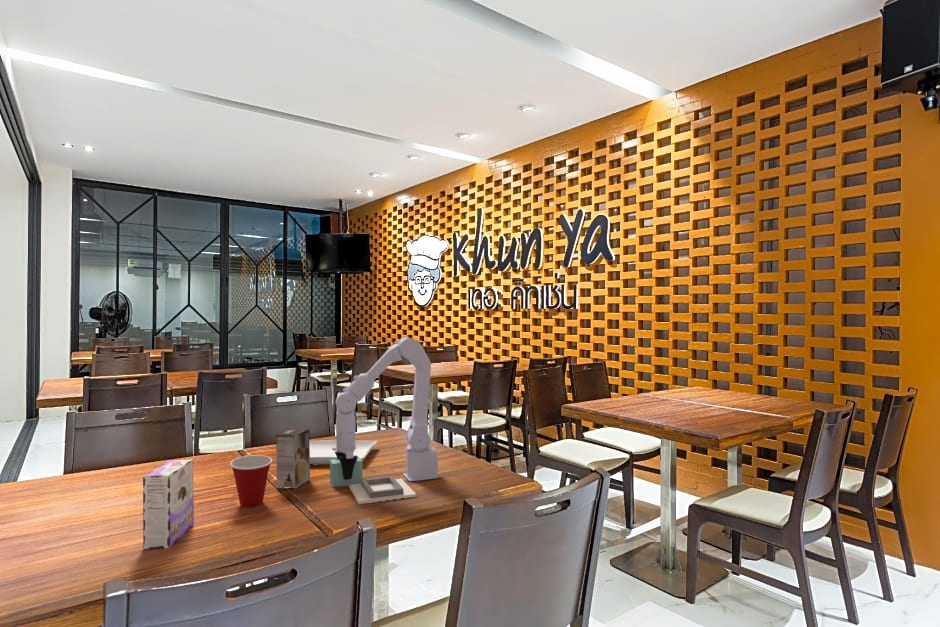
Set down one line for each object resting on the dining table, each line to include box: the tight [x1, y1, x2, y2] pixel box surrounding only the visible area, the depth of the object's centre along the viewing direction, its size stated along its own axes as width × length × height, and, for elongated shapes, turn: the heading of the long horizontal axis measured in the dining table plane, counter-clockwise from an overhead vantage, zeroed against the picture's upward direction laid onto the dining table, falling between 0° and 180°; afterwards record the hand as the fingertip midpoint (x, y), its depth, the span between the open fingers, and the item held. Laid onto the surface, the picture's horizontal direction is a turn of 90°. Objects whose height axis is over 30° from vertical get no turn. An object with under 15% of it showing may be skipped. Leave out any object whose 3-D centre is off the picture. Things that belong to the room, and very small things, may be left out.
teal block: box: [329, 457, 364, 488], centre depth 172 cm, size 9×5×7 cm, turn 112°
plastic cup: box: [229, 454, 273, 508], centre depth 154 cm, size 11×11×12 cm
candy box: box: [142, 458, 195, 550], centre depth 131 cm, size 14×6×16 cm, turn 5°
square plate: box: [309, 439, 378, 466], centre depth 203 cm, size 27×27×4 cm
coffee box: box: [275, 428, 311, 489], centre depth 171 cm, size 9×6×16 cm
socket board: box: [348, 475, 417, 505], centre depth 163 cm, size 16×16×2 cm
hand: (346, 476), depth 172 cm, fingers closed on teal block, 5 cm apart
